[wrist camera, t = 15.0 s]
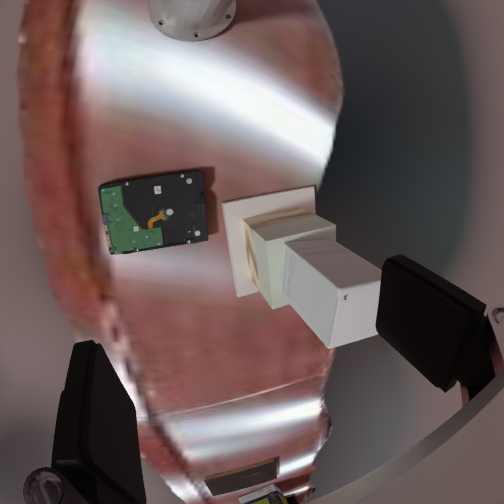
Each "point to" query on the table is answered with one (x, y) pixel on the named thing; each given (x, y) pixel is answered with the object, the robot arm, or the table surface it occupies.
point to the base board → (253, 208)
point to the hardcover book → (241, 477)
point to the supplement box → (331, 290)
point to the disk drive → (154, 212)
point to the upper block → (272, 247)
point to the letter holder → (291, 499)
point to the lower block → (262, 222)
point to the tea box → (264, 496)
